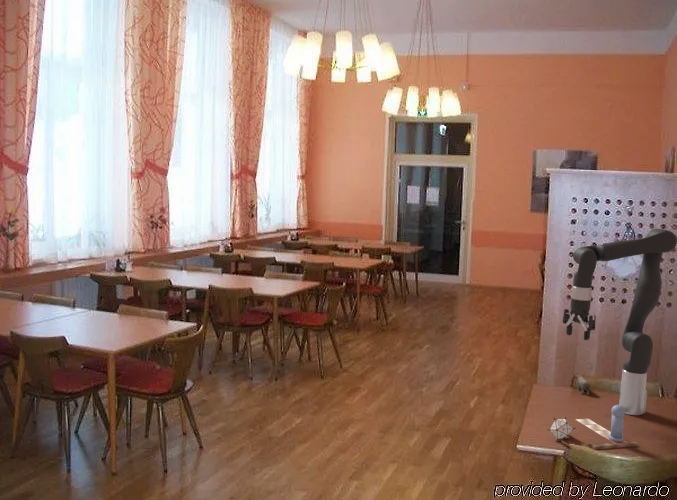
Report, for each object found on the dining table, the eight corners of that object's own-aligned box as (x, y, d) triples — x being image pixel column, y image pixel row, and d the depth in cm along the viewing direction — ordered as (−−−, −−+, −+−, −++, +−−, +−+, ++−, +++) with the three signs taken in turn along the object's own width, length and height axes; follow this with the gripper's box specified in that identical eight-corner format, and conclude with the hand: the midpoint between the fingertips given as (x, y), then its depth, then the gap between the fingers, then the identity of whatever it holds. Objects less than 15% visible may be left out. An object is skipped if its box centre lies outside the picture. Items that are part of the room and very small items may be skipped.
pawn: (618, 436, 264) (620, 402, 262) (626, 441, 259) (628, 407, 257) (606, 437, 262) (608, 403, 261) (614, 442, 258) (616, 407, 256)
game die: (564, 451, 260) (577, 436, 253) (542, 440, 261) (554, 425, 254) (568, 432, 267) (580, 417, 260) (546, 422, 268) (558, 406, 261)
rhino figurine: (581, 386, 327) (582, 373, 326) (591, 396, 313) (592, 382, 313) (572, 385, 327) (573, 372, 326) (581, 395, 313) (583, 382, 313)
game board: (593, 419, 283) (593, 417, 283) (637, 446, 259) (637, 443, 258) (552, 422, 278) (553, 419, 278) (594, 449, 253) (594, 446, 253)
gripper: (602, 300, 284) (598, 340, 286) (573, 293, 296) (569, 332, 298) (589, 301, 280) (585, 342, 282) (560, 294, 292) (557, 334, 294)
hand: (577, 337), depth 290 cm, fingers open, 8 cm apart
